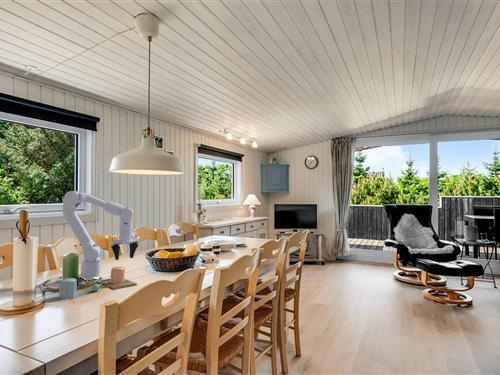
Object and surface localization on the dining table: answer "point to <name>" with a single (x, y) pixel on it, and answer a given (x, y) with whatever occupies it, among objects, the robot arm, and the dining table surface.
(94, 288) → the green ball
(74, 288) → the slate blue cup
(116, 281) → the terracotta cup
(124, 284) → the walnut board
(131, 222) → the robot arm
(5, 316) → the dining table surface
